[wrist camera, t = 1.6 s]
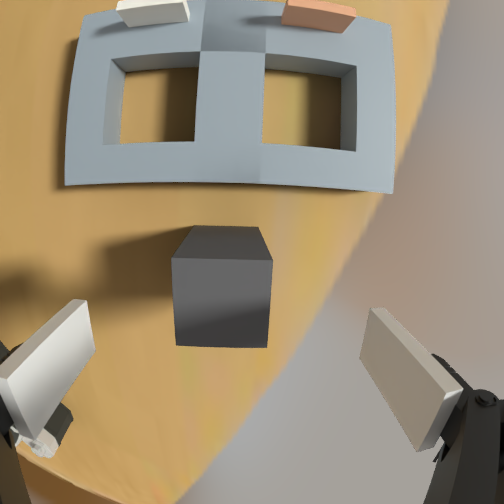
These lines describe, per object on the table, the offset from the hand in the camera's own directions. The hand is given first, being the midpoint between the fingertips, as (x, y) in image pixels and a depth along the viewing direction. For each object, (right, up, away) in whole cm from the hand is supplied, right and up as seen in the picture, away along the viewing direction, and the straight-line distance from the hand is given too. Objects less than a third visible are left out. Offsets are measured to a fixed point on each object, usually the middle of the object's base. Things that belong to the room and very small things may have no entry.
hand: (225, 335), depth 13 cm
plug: (-1, +3, +12) cm, 13 cm away
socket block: (0, +16, +9) cm, 18 cm away
